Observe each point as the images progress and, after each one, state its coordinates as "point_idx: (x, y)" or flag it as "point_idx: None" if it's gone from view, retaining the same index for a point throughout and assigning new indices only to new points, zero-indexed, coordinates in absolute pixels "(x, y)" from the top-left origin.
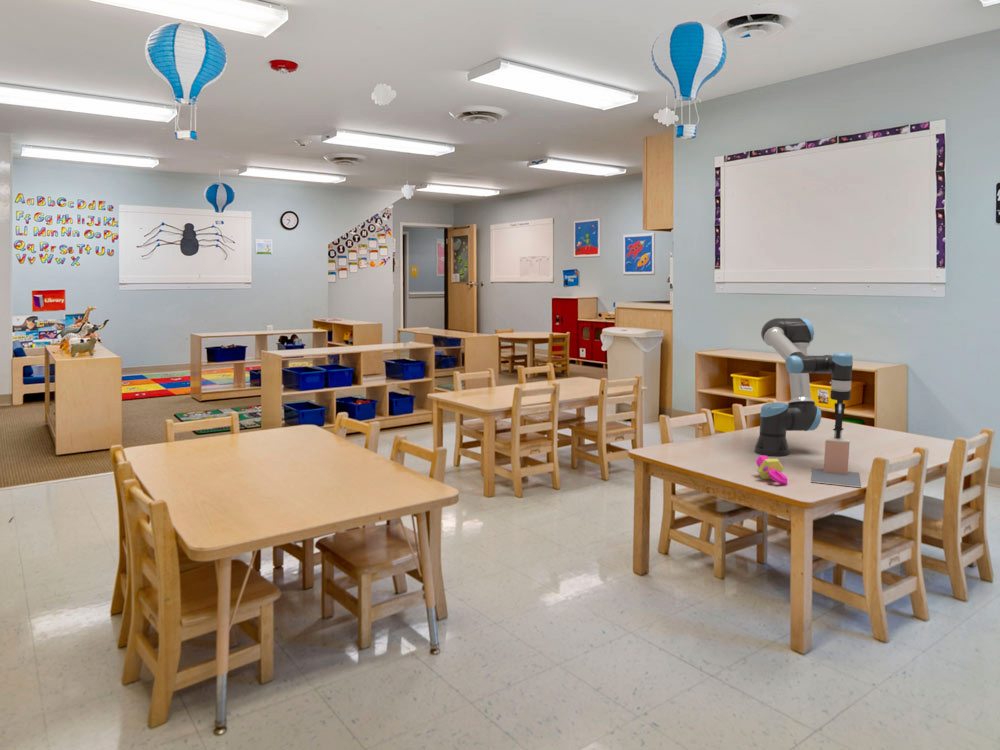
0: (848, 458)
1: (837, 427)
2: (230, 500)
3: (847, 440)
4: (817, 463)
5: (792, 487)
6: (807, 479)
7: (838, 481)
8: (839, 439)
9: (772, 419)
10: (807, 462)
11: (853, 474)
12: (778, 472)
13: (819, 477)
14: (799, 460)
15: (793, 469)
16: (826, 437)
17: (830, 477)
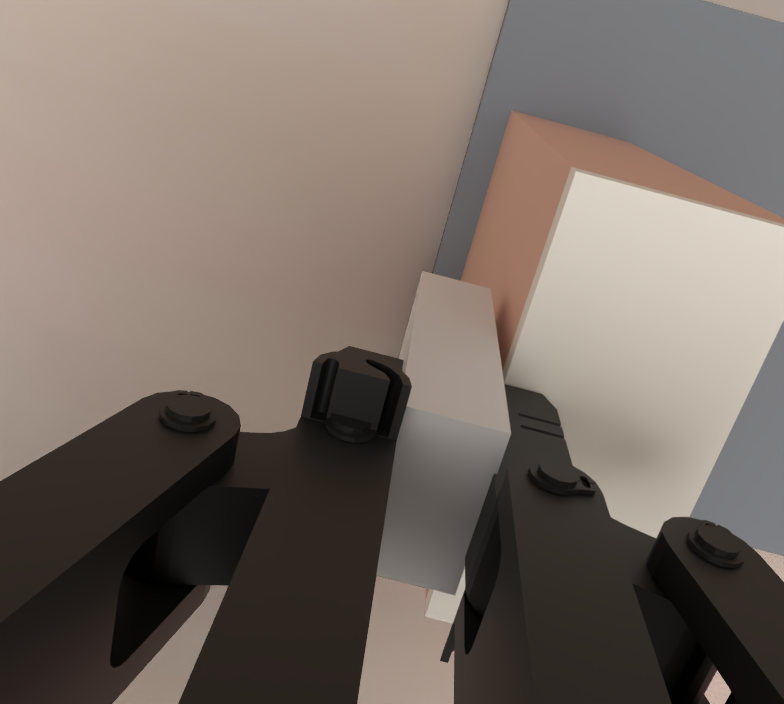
0: (688, 172)
1: (695, 692)
2: None
3: (718, 262)
4: (89, 320)
5: None
6: (775, 572)
7: None
8: (615, 415)
9: None
10: (80, 410)
11: (628, 63)
12: None
13: (782, 482)
14: (20, 465)
15: (410, 598)
16: (439, 608)
17: (780, 376)
